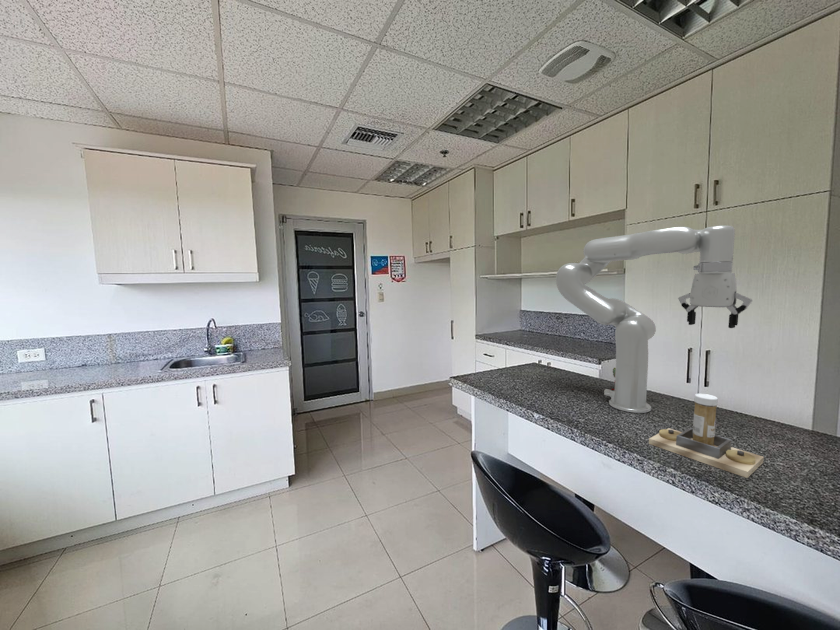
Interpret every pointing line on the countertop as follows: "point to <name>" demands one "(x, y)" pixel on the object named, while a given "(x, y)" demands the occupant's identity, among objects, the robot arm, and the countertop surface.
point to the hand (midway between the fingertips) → (710, 326)
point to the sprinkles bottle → (704, 418)
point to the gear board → (708, 451)
